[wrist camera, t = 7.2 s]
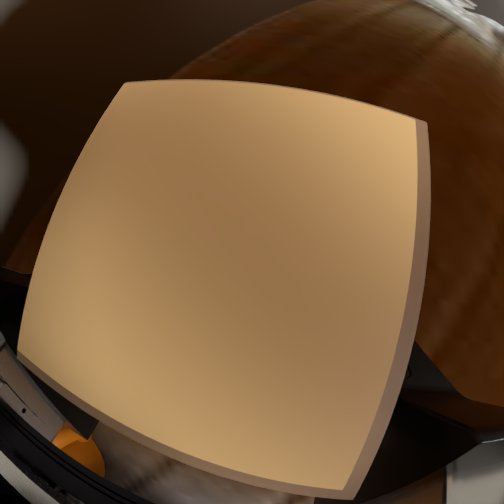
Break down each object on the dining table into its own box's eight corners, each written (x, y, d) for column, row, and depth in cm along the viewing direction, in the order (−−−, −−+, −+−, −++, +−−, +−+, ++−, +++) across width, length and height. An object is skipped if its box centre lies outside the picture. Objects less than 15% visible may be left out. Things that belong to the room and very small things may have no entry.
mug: (140, 464, 19) (89, 508, 11) (81, 490, 19) (36, 519, 10) (84, 390, 21) (19, 407, 13) (37, 428, 21) (-15, 444, 12)
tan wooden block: (299, 364, 15) (358, 510, 2) (212, 340, 15) (5, 357, 3) (322, 278, 16) (432, 112, 3) (237, 256, 17) (119, 73, 4)
